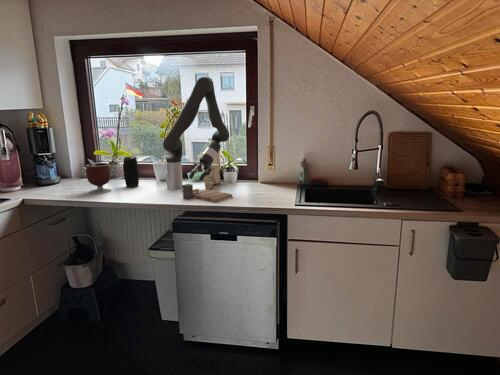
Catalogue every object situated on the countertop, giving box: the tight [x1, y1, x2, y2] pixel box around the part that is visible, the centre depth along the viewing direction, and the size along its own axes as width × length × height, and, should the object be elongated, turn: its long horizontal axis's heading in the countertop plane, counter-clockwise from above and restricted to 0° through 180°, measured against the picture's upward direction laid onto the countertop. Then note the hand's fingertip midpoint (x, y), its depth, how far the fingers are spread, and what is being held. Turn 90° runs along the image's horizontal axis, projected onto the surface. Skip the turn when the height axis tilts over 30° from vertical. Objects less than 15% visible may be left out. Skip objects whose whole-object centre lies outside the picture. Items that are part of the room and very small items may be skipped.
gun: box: [204, 163, 221, 190], centre depth 235 cm, size 24×3×15 cm, turn 168°
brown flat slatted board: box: [193, 188, 233, 203], centre depth 206 cm, size 22×14×2 cm, turn 51°
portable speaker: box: [122, 156, 140, 189], centre depth 235 cm, size 9×9×20 cm
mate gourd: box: [85, 158, 112, 195], centre depth 222 cm, size 16×14×20 cm
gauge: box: [182, 183, 200, 201], centre depth 205 cm, size 4×10×8 cm, turn 141°
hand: (195, 179), depth 206 cm, fingers open, 8 cm apart
